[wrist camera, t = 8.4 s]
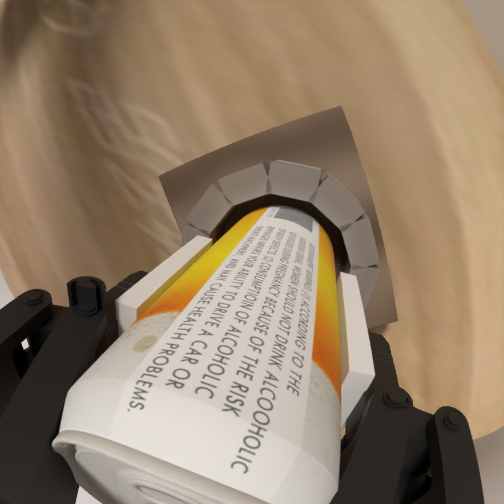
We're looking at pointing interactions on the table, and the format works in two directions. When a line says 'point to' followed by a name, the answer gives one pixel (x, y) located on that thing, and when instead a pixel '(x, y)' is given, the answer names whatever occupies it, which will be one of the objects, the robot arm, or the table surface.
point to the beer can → (221, 380)
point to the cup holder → (292, 196)
